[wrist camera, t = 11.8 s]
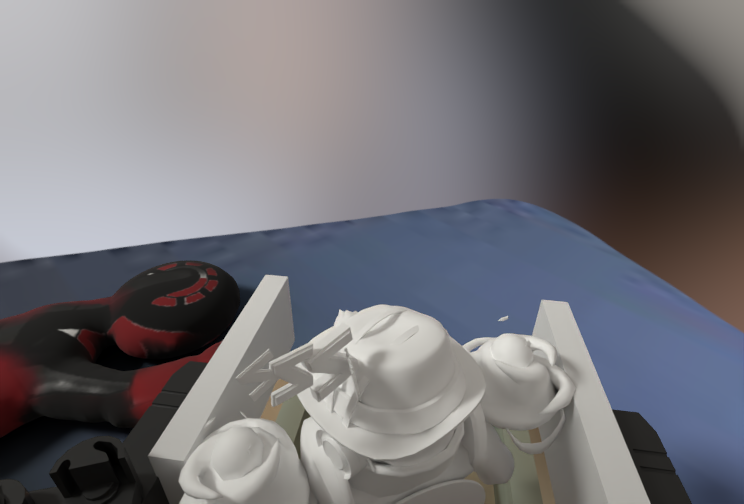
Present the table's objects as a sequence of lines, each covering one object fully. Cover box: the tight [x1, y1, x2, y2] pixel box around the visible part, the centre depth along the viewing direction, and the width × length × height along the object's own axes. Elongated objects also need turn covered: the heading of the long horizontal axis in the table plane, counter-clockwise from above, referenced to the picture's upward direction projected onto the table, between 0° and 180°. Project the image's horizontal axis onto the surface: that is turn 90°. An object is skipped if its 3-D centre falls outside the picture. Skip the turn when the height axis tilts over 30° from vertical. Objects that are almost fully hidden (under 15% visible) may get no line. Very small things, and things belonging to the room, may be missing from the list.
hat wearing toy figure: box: [179, 305, 576, 504], centre depth 10 cm, size 9×4×12 cm, turn 114°
